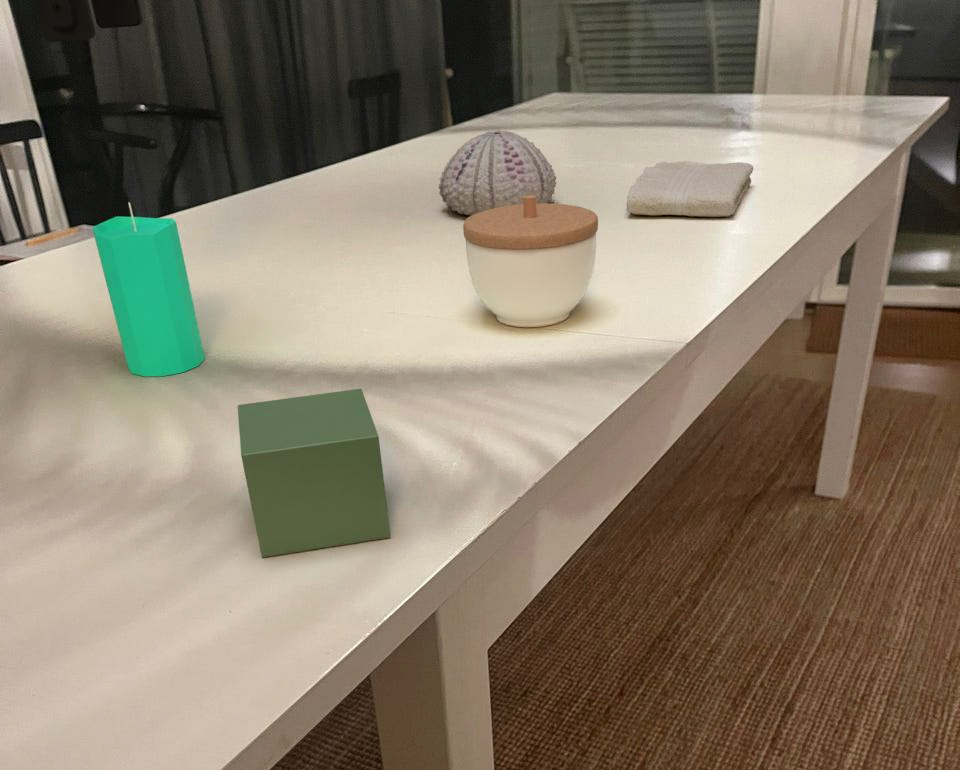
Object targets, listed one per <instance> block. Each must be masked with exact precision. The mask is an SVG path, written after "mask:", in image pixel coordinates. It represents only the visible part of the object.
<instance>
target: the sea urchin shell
mask: <svg viewBox="0 0 960 770" xmlns="http://www.w3.org/2000/svg"><path fill="white" fill-rule="evenodd" d="M438 180H439V184H438V189H439V193H438V194H439V195H440V196H441V198H442V202H443V203H445V205H447V207H448V208H450V209H451V211H452V212H457V213H458V215H465V216H468V217H470V216H472V215H474V214H476V213H479V212H482V211H485V210H488V209H493V208H498V207H503V206H510V205H520V204H523V197H524V196H528V195H534V196H536V204H538V203H548V202H550V200H552V199H553V195H554V194H555V188H556V187H557V182H556V180H557V176H556V173H555V170H554V169H553V165H552V164H551V163H550V162H549V160H548V159H547V157H546V156H545V155H544V154H543V153H542V151H541V149H540V148H538V147H537V146H536V145H535V143H534V141H532V142H531V141H530V140H528V139H527V137H524V136H521V135H519V134H517V133H515V132H512V131H507V130H506V131H504V130H494V131H487V132H484V133H483V134H479V135H477V136H475V137H473V138H472V137H471V139H469V140H468V141H466V142H464V143H463V145H461V146H460V147H459V148H458V149H457V150H456V151H455V153H454V154H453V155H452V156H451V158H450V159H448V162H447V163H446V165H445V166H444V169H443V171H442V172H441V176H440V178H438Z"/></svg>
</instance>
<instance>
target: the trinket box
mask: <svg viewBox="0 0 960 770" xmlns="http://www.w3.org/2000/svg"><path fill="white" fill-rule="evenodd" d="M598 229H599V217H598V215H597V214H596V212H594V211H592V210H591V209H587V208H585V207H582V206H578V205H572V204H564V203H548V202H547V203H538V204H536V196H534V195H528V196H524V197H523V204H520V205H510V206H503V207H498V208H493V209H488V210H485V211H482V212H479V213H476V214H474V215H471V216H468V217H466V219H465V220H464V222H463V225H462V230H463V237H464V239H465V250H466V251H465V252H466V263H467V267H468V273H469V276H470V279H471V283H472V286H473V288H474V290H475V293H476V295H477V296H478V298H479V300H480V301H481V302H482V304H483V305H484V306H485V307H486V308H487V309H488V310H489V311H490V312H491V313H493V314H494V315H495V316H496V317H495V319H496V320H497V322H499V323H501V324H503V325H505V326H510V327H516V328H540V327H548V326H553V325H556V324H559V323H561V322H564V321H565V320H567V319H568V318H569V317H570V312H572V310H573V309H574V308H576V306H577V305H579V303H580V302H581V300H582V299H583V298H584V296H585V295H586V293H587V291H588V289H589V286H590V284H591V281H592V279H593V274H594V270H595V263H596V254H597V232H598Z"/></svg>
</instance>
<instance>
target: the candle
mask: <svg viewBox="0 0 960 770" xmlns="http://www.w3.org/2000/svg"><path fill="white" fill-rule="evenodd" d="M127 205H128V208H129V213H130V216H121V215H120V216H118V215H117V216H114V217H111V218H109V219H107V220H105V221H103V222H100V223H99V224H96V225H94V226H92V228H91V229H92V232H93V237H94V240H95V244H96V248H97V252H98V256H99V260H100V264H101V268H102V273H103V277H104V279H105V283H106V288H107V292H108V296H109V299H110V302H111V307H112V311H113V315H114V319H115V323H116V326H117V331H118V334H119V339H120V342H121V346H122V350H123V353H124V358H125V361H126V366H127V368H128V370H129V373H130V374H132V375H136V376H140V377H144V378H145V377H166V376H172V375H177V374H181V373H182V374H183V373H185V372H187V371H190V370H192V369H195V368H196V367H197V368H198V367H199V366H200V365H201V364H202V363H203V362H204V361H205V359H206V357H205V353H204V348H203V342H202V338H201V334H200V328H199V325H198V320H197V315H196V310H195V305H194V300H193V296H192V291H191V286H190V282H189V277H188V272H187V267H186V263H185V258H184V254H183V253H184V252H183V248H182V243H181V239H180V234H179V230H178V225H177V221H176V220H175V219H174V218H171V217H167V218H163V217H162V218H160V217H159V218H158V217H146V216H145V217H143V216H134V212H133V209H132V205H131V202H130V201H128V203H127Z"/></svg>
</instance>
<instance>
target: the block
mask: <svg viewBox="0 0 960 770" xmlns="http://www.w3.org/2000/svg"><path fill="white" fill-rule="evenodd" d="M237 417H238V431H239V432H238V433H239V442H240V444H239V445H240V456H241V462H242V465H243V466H242V467H243V471H244V476H245V481H246V487H247V491H248V492H247V493H248V497H249V501H250V506H251V510H252V515H253V521H254V526H255V530H256V531H255V532H256V535H257V540H258V545H259V551H260V555H261V558H269V557H275V556H280V555H281V556H282V555H288V554H293V553H301V552H306V551H313V550H318V549H319V550H320V549H325V548H333V547H339V546H346V545H351V544H357V543H358V544H359V543H363V542H371V541H377V540H384V539H390V538H391V530H390V522H389V521H390V520H389V513H388V503H387V495H386V488H385V478H384V469H383V462H382V453H381V446H380V445H381V444H380V437H379V436H380V435H379V434H378V431H377V428H376V425H375V423H374V420H373V417H372V414H371V411H370V408H369V406H368V403H367V400H366V397H365V394H364V392H363V389H362V388H355V389H348V390H346V389H345V390H339V391H333V392H325V393H318V394H309V395H303V396H302V395H301V396H296V397H288V398H287V397H286V398H279V399H272V400H266V401H258V402H257V401H256V402H249V403H243V404H238V405H237Z"/></svg>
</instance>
